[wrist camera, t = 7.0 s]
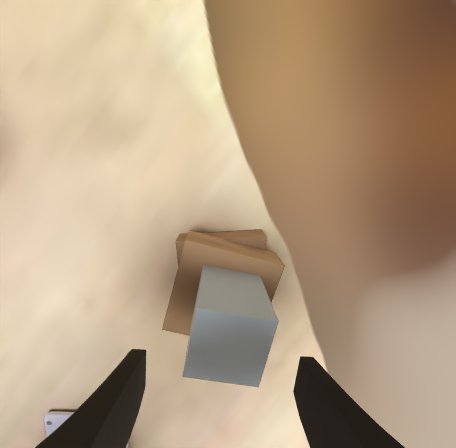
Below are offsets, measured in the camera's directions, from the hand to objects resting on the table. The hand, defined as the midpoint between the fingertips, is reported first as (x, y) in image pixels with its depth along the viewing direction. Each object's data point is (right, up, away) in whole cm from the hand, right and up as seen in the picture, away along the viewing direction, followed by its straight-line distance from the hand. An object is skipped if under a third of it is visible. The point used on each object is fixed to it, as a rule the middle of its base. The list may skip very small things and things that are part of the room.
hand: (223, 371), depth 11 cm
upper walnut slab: (0, +2, +8) cm, 8 cm away
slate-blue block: (0, +2, +6) cm, 6 cm away
